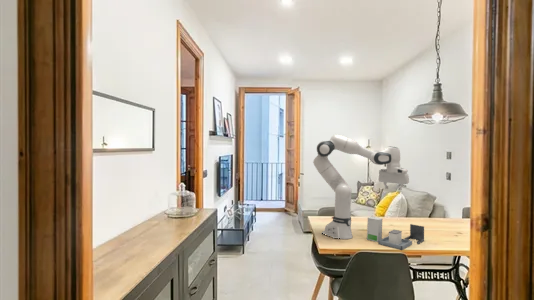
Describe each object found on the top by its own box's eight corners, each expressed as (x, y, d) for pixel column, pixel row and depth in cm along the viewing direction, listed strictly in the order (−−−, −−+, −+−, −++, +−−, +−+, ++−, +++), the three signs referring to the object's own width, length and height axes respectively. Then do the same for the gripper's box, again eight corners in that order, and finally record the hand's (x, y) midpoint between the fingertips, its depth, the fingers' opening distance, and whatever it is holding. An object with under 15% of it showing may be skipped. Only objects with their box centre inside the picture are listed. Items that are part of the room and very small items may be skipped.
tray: (378, 244, 201) (378, 240, 201) (388, 239, 211) (388, 235, 211) (402, 250, 189) (402, 246, 189) (412, 244, 200) (412, 240, 200)
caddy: (388, 243, 199) (388, 231, 199) (393, 241, 205) (394, 229, 205) (396, 245, 196) (396, 233, 196) (401, 243, 201) (401, 231, 201)
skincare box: (366, 239, 210) (366, 217, 210) (371, 237, 215) (371, 215, 215) (378, 242, 205) (378, 219, 204) (382, 240, 209) (382, 217, 209)
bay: (404, 241, 207) (404, 226, 207) (410, 238, 214) (410, 224, 214) (418, 244, 201) (418, 229, 200) (424, 241, 208) (424, 226, 208)
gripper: (377, 169, 216) (376, 188, 217) (406, 170, 202) (406, 191, 202) (381, 168, 221) (381, 187, 221) (409, 170, 206) (409, 190, 206)
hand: (393, 189), depth 211 cm, fingers open, 8 cm apart
